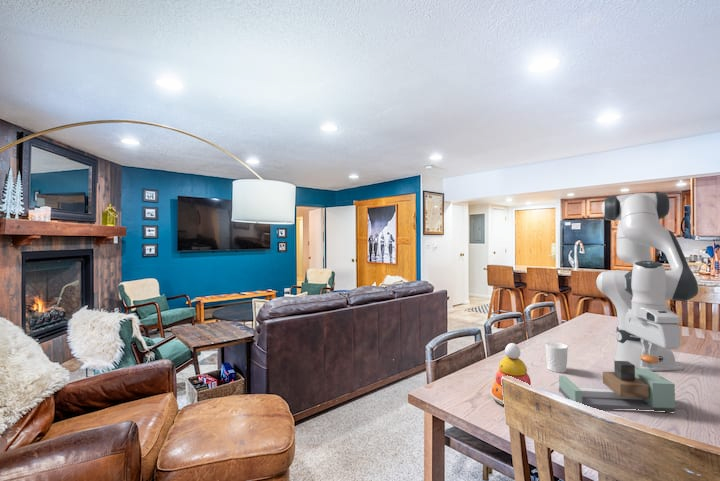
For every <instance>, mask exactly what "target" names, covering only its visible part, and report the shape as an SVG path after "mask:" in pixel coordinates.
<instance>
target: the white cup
mask: <svg viewBox="0 0 720 481" xmlns="http://www.w3.org/2000/svg"><path fill="white" fill-rule="evenodd" d="M544 345H545V359H546V360H545V361H546V367H547V369H548V370H549V371H551V372H553V373H560V374H561V373H566V372H567V365H568V349H569V348H568V347H569V346H568V345H567V344H565V343H561V342H554V341H553V342H552V341H551V342H545V344H544Z"/></svg>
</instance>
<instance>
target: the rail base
mask: <svg viewBox="0 0 720 481" xmlns="http://www.w3.org/2000/svg"><path fill="white" fill-rule="evenodd" d="M635 377H636V378H638V379H639V380H641V381H643V382H644V383H646V384H647V385H649V398H634V397H620V396H619V395H617V394H616V393H615V392H614V391H612V390H611V389H610V388H600V387H599V388H597V387H578V385H576V384H575V383H574V382H572V381H571V379H569V378H568V376H566V375H563V374H561V375H558V390H559V391H558V392H560V393H561V394H562V395H563V396H564V397H565V399H567V398H568V399H571V400H573V401H576V402H579V403H582V404H584V405H587V406H590V407H593V408H597V409H596V410H604V411H605V410H606V411H607V410H608V409H609V410H611V411H613V410H612V409H636V410H638V409H639V410H654V411H665V412H674V413H673V414H676V394H675V393H676V392H675V391H676V390H675V388H676V385H675V383H673V382H672V381H670V380H668V379H666V377H664V376H661V375H660V374H658V373H656V372H654V371H651V370H649V369H643V368H636V367H635ZM609 410H608V411H609Z"/></svg>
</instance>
